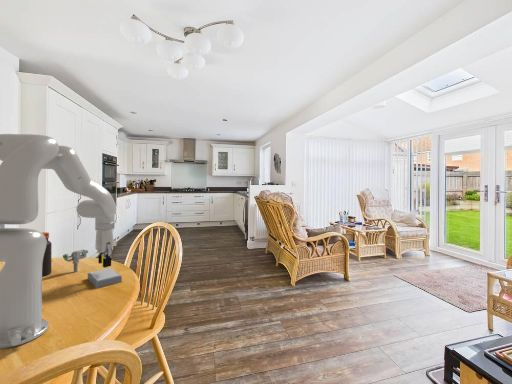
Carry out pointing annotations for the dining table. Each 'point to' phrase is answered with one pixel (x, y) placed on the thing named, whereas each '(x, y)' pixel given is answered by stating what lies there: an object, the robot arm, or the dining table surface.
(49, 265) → the bottle
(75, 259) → the mechanical component
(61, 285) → the dining table surface
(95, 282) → the stand
